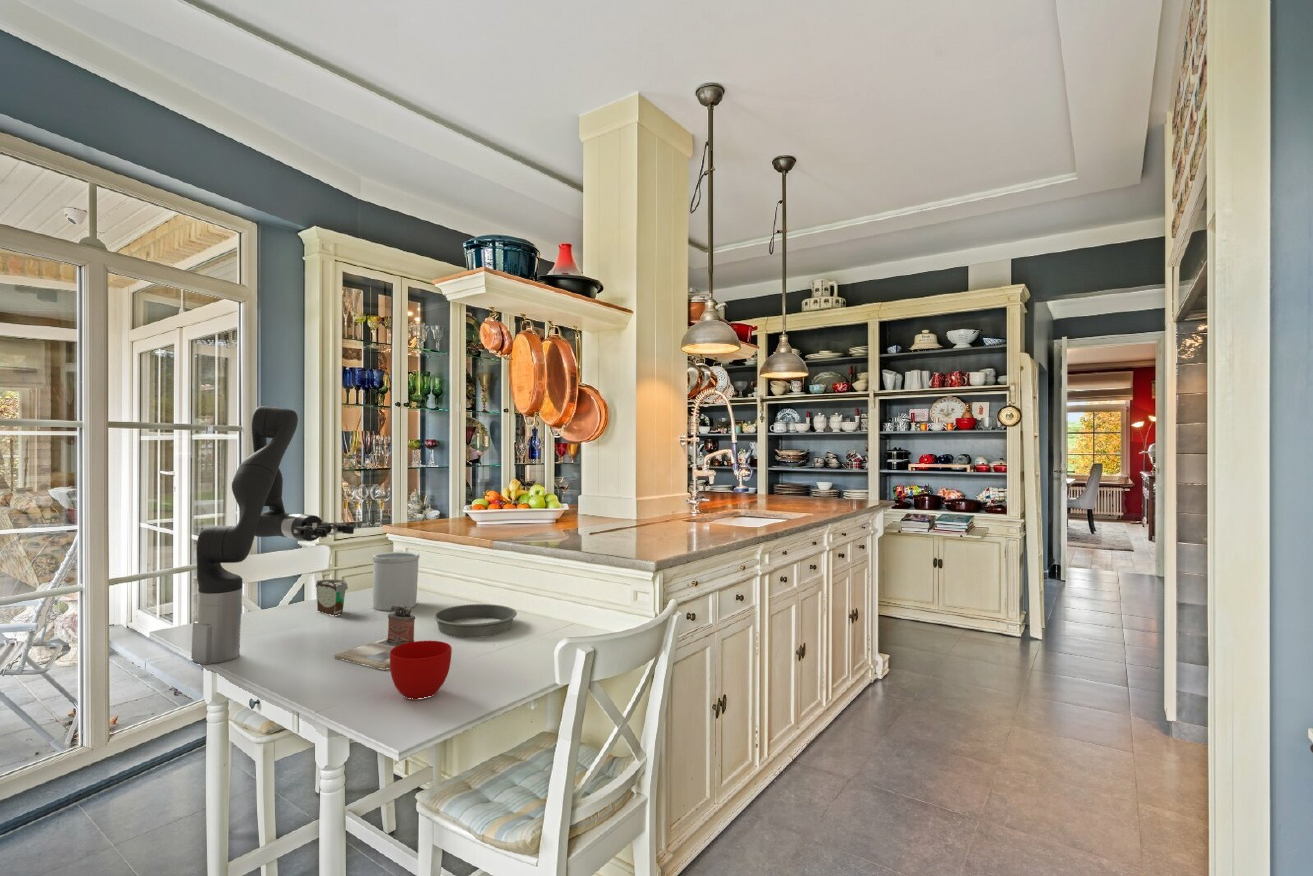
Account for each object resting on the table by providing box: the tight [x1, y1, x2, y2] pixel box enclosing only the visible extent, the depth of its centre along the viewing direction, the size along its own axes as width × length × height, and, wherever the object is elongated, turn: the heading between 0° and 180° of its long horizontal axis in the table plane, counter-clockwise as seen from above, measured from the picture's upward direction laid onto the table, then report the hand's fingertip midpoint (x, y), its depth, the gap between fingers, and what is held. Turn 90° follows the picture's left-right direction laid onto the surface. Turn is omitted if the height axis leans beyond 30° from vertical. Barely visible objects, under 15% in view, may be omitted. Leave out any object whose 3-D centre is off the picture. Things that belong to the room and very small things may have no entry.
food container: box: [315, 579, 349, 616], centre depth 207 cm, size 12×6×10 cm, turn 58°
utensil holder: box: [371, 551, 420, 612], centre depth 217 cm, size 15×15×18 cm
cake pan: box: [433, 603, 518, 638], centre depth 195 cm, size 25×25×4 cm
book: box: [334, 637, 398, 669], centre depth 168 cm, size 18×18×1 cm
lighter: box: [387, 605, 416, 645], centre depth 173 cm, size 8×3×10 cm, turn 73°
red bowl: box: [389, 640, 453, 699], centre depth 144 cm, size 13×17×10 cm
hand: (339, 531), depth 181 cm, fingers open, 8 cm apart
